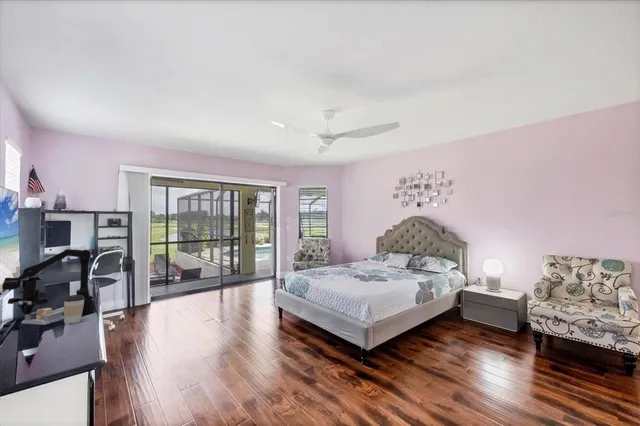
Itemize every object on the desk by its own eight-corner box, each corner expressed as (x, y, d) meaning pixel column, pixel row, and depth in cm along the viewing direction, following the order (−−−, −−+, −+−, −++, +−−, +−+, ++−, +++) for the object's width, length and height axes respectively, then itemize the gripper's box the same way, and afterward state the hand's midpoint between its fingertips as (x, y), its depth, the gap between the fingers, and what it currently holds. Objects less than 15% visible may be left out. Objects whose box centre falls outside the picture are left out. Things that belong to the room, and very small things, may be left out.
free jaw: (44, 316, 162) (44, 310, 162) (29, 320, 154) (29, 314, 154) (37, 315, 162) (37, 310, 162) (21, 319, 154) (22, 314, 154)
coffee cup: (58, 322, 155) (61, 295, 156) (78, 318, 163) (80, 292, 164) (65, 325, 151) (68, 297, 152) (86, 321, 159) (88, 294, 160)
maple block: (51, 317, 159) (52, 308, 159) (44, 319, 155) (45, 309, 156) (42, 317, 159) (43, 307, 160) (36, 319, 156) (37, 309, 156)
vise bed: (64, 318, 162) (65, 310, 163) (45, 324, 151) (46, 316, 152) (42, 317, 163) (43, 309, 163) (21, 323, 152) (22, 315, 152)
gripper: (58, 286, 167) (56, 312, 166) (29, 285, 168) (27, 311, 167) (38, 290, 156) (36, 318, 154) (8, 288, 157) (5, 317, 156)
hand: (26, 316), depth 158 cm, fingers closed
